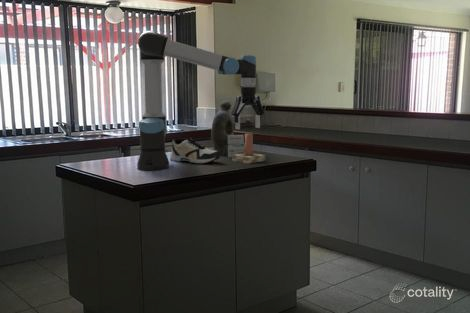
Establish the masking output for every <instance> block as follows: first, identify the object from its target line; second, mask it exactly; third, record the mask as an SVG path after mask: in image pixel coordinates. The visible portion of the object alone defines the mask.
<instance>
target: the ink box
mask: <svg viewBox="0 0 470 313" xmlns="http://www.w3.org/2000/svg"><path fill="white" fill-rule="evenodd" d="M243 153H245V134H233V135H229V136H228V155H227V158H232V155H235V154H243Z"/></svg>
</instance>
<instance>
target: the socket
mask: <svg viewBox="0 0 470 313" xmlns="http://www.w3.org/2000/svg"><path fill="white" fill-rule="evenodd" d="M231 158H232V161H233V162H237V163H244V164H252V163H253V164H255V163H259V162H265V161H266V154H261V153H254V152H253V156H245V152H244V153H243V154H235V155H232V157H231Z"/></svg>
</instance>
